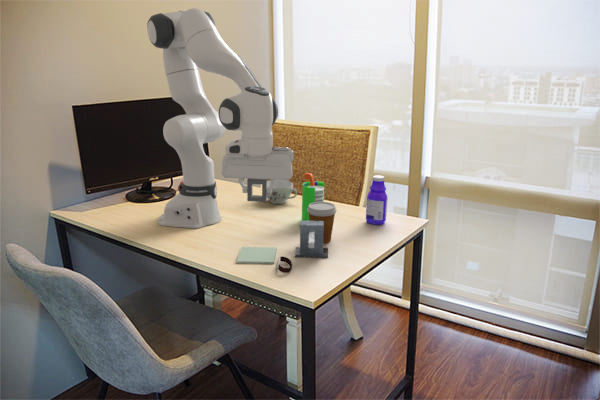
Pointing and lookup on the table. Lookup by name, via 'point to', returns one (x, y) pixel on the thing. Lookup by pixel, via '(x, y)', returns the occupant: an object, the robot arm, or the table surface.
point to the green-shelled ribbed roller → (311, 194)
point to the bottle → (377, 201)
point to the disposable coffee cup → (323, 217)
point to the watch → (282, 269)
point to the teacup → (281, 191)
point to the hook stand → (311, 240)
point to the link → (256, 197)
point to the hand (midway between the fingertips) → (257, 192)
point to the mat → (257, 255)
